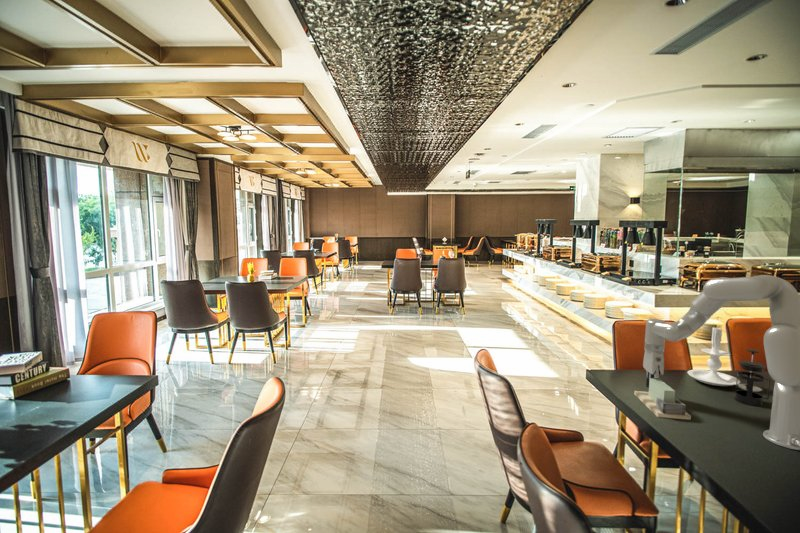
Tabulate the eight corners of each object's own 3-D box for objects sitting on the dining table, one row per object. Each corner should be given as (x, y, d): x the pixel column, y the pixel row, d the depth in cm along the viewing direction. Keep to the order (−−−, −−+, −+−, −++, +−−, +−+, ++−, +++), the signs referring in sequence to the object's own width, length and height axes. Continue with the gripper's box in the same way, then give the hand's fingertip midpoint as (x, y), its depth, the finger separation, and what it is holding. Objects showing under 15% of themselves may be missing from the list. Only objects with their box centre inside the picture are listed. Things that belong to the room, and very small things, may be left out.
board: (690, 419, 160) (691, 406, 160) (657, 417, 162) (658, 403, 162) (663, 396, 183) (664, 384, 183) (634, 394, 185) (635, 382, 185)
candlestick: (735, 378, 207) (740, 324, 204) (742, 394, 186) (748, 334, 184) (686, 370, 218) (690, 318, 216) (687, 384, 198) (692, 327, 195)
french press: (732, 401, 178) (737, 350, 176) (732, 395, 186) (736, 345, 184) (768, 409, 171) (773, 355, 169) (766, 402, 178) (772, 350, 176)
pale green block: (673, 410, 165) (675, 391, 164) (663, 409, 166) (664, 390, 165) (658, 396, 179) (659, 378, 178) (648, 395, 180) (649, 378, 179)
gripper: (671, 353, 172) (667, 395, 174) (655, 343, 187) (652, 381, 189) (652, 351, 173) (648, 393, 175) (638, 342, 188) (634, 380, 190)
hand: (650, 387), depth 182 cm, fingers closed
